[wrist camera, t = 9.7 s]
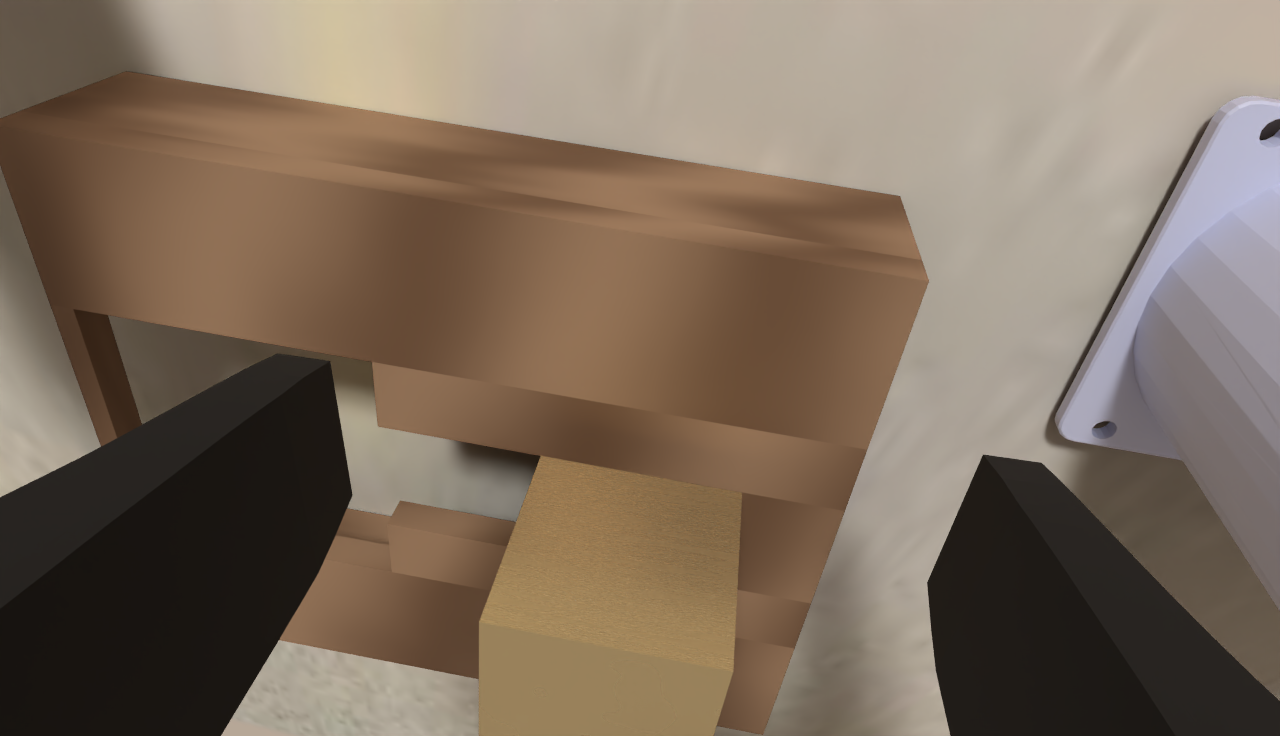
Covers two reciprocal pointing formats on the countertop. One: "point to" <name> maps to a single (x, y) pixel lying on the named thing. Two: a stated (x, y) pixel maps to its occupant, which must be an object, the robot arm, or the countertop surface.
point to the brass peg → (611, 607)
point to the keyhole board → (488, 323)
